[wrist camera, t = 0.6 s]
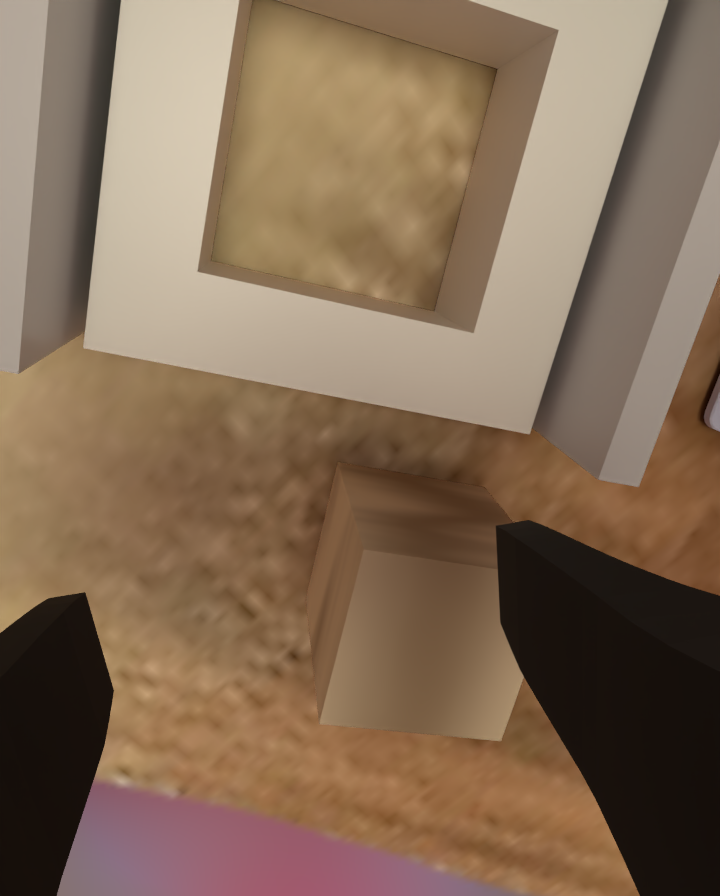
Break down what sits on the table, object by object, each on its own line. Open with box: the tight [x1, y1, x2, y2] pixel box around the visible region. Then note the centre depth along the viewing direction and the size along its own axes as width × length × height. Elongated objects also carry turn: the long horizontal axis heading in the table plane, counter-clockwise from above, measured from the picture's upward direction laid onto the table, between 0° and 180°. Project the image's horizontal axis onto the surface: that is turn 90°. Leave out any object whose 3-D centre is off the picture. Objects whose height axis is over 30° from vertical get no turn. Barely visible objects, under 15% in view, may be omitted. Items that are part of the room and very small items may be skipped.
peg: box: [306, 462, 524, 741], centre depth 20 cm, size 5×5×6 cm
